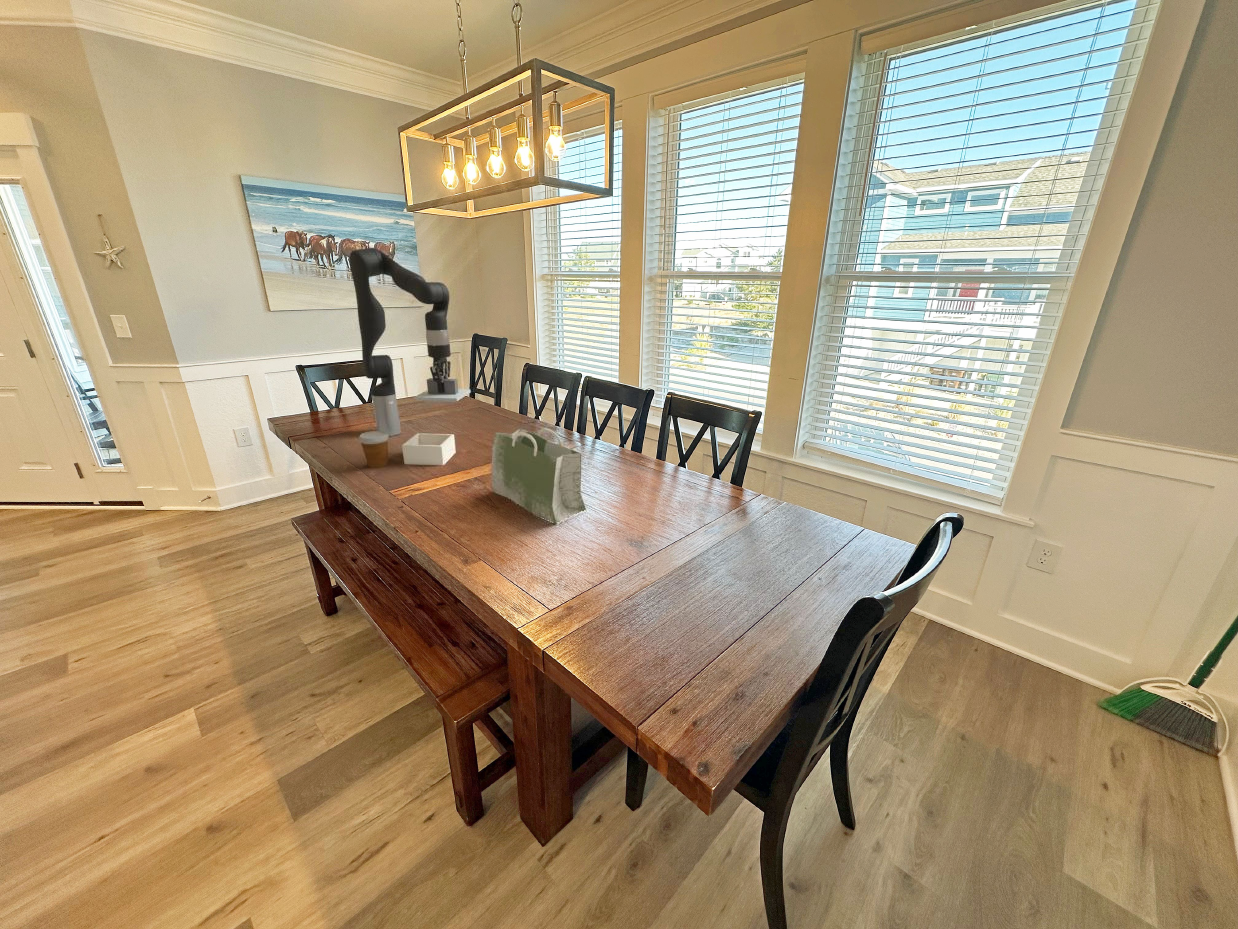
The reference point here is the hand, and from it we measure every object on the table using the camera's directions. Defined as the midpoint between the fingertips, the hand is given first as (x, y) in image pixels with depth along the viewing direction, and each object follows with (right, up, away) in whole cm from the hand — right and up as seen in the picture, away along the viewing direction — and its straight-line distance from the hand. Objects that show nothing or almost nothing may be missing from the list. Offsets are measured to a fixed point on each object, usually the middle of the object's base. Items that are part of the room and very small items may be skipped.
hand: (443, 391), depth 176 cm
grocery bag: (+39, -38, -24) cm, 59 cm away
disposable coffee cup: (-23, -27, -2) cm, 36 cm away
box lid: (0, -2, +1) cm, 2 cm away
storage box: (-7, -25, +6) cm, 26 cm away
